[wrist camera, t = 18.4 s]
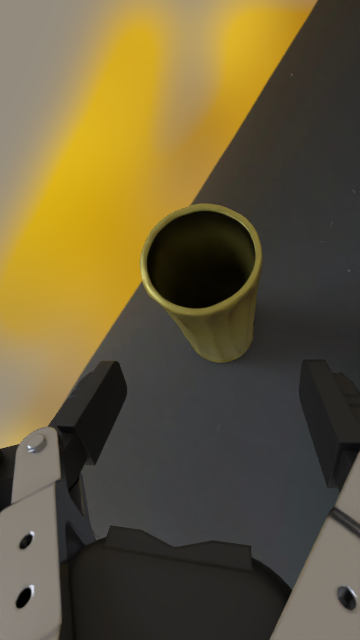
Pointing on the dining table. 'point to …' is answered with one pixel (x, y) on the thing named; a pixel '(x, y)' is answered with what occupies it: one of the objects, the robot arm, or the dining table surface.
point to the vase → (206, 277)
